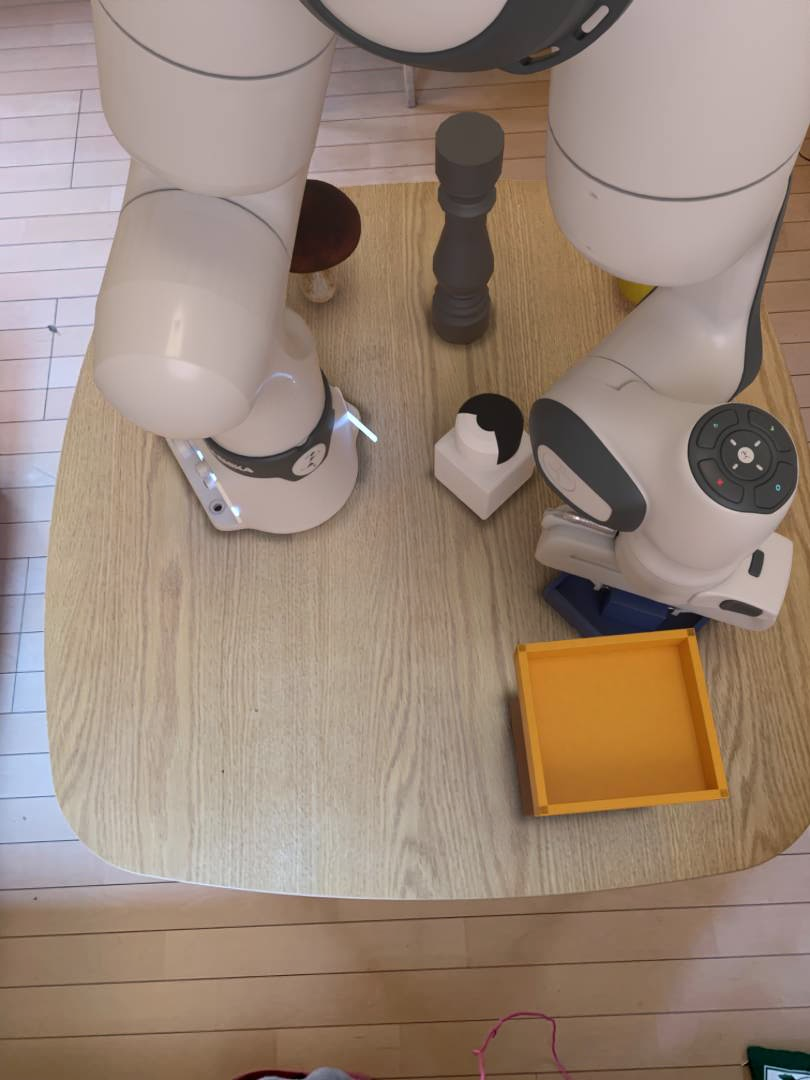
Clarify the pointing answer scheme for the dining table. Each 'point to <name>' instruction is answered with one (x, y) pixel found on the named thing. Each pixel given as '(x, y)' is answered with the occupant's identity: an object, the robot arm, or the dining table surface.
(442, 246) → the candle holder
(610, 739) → the ochre tray
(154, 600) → the dining table surface
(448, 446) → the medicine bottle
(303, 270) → the decorative mushroom
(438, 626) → the dining table surface
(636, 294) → the lemon
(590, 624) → the navy tray
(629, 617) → the navy block
